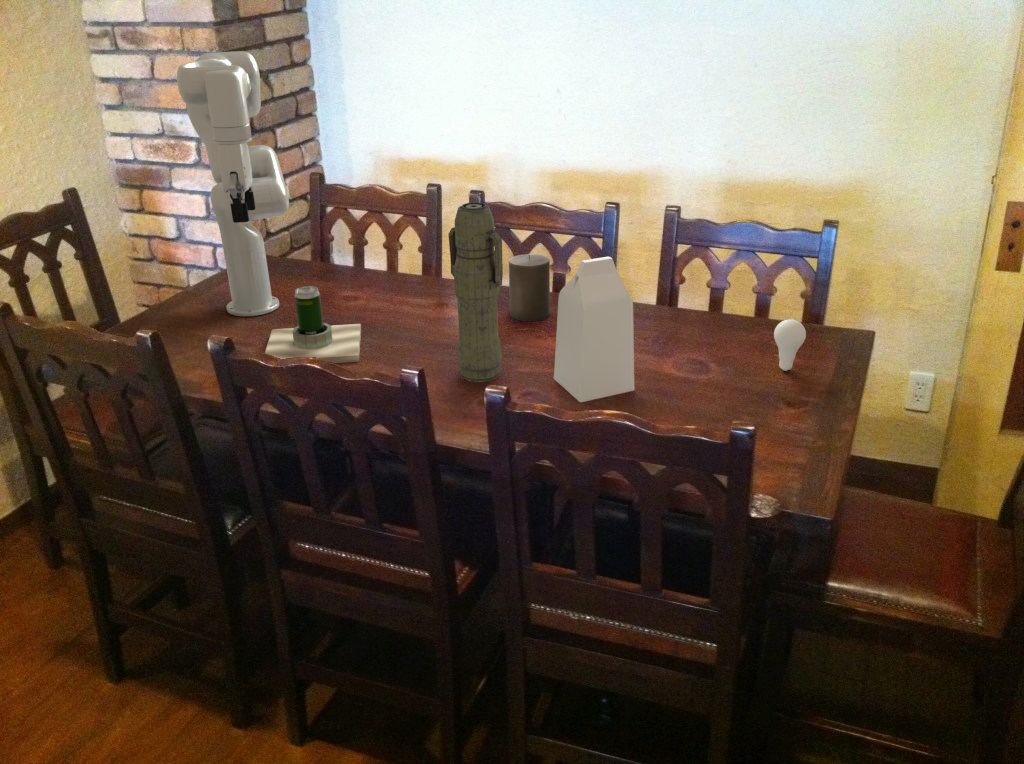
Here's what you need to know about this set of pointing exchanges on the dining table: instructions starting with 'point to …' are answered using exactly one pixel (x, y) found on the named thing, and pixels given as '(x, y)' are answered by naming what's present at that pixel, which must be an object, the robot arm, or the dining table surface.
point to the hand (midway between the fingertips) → (244, 215)
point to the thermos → (477, 290)
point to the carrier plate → (327, 353)
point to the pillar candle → (529, 287)
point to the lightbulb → (789, 341)
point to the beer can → (309, 310)
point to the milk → (595, 333)
